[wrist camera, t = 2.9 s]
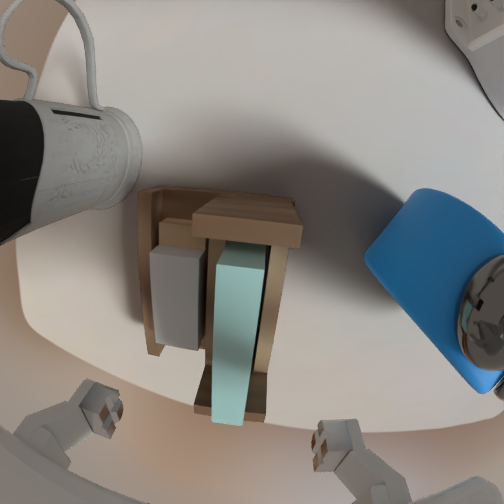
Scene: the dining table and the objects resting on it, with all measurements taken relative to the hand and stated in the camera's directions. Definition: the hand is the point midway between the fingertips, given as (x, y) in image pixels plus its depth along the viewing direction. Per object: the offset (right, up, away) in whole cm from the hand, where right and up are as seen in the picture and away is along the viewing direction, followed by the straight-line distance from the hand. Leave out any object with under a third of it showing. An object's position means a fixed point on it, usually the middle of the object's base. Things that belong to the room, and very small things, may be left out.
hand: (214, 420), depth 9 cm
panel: (+1, +4, +11) cm, 12 cm away
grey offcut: (-4, +4, +10) cm, 11 cm away
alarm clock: (+15, +6, +11) cm, 20 cm away
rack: (-1, +5, +12) cm, 13 cm away
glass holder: (-10, +17, +9) cm, 21 cm away
